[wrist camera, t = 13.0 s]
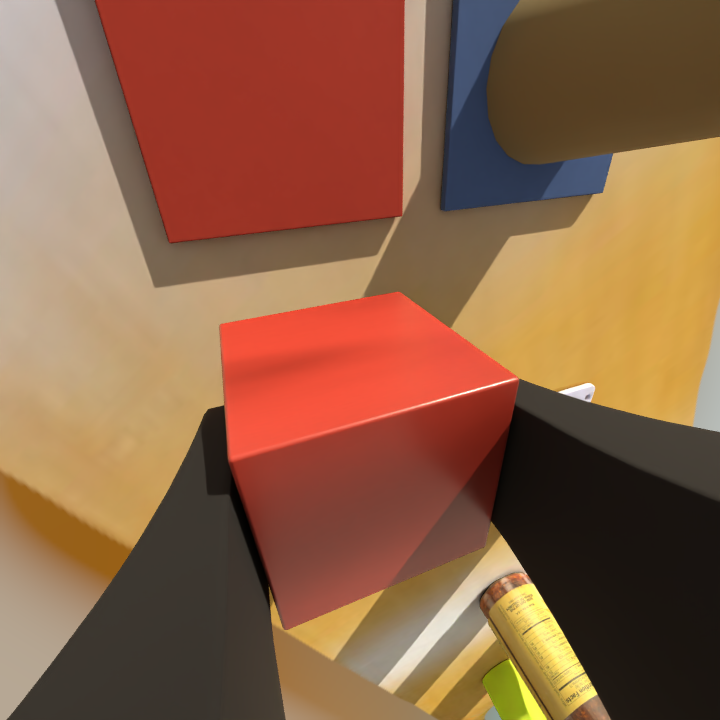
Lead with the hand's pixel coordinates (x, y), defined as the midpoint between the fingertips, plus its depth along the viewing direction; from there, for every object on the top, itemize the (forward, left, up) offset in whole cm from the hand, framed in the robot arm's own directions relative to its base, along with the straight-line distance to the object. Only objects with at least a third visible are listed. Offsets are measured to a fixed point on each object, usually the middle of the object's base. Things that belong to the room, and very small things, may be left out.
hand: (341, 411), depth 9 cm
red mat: (+7, -1, -8) cm, 11 cm away
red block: (0, 0, -1) cm, 1 cm away
